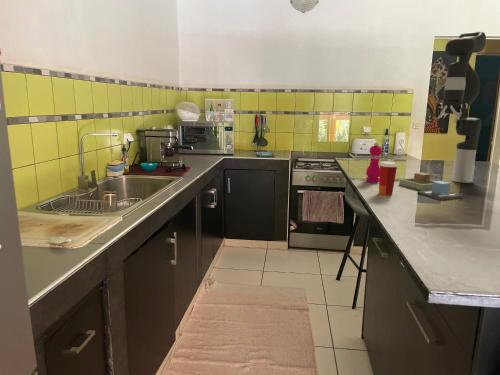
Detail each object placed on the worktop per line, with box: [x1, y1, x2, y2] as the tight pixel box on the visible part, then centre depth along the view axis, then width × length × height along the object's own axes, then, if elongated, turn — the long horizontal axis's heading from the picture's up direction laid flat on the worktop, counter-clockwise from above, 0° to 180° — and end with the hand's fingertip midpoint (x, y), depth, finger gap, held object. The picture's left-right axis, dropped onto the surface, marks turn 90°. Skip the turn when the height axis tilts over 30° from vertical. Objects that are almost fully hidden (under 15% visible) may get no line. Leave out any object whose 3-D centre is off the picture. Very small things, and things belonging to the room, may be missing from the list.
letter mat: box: [416, 190, 464, 201], centre depth 172 cm, size 13×13×1 cm
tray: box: [398, 177, 436, 191], centre depth 189 cm, size 14×14×3 cm
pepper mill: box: [365, 142, 383, 183], centre depth 197 cm, size 7×7×20 cm
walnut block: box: [413, 172, 431, 184], centre depth 188 cm, size 5×5×6 cm
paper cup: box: [378, 161, 398, 196], centre depth 171 cm, size 8×8×14 cm
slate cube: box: [431, 180, 451, 195], centre depth 171 cm, size 5×5×5 cm
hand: (449, 128), depth 165 cm, fingers open, 8 cm apart
